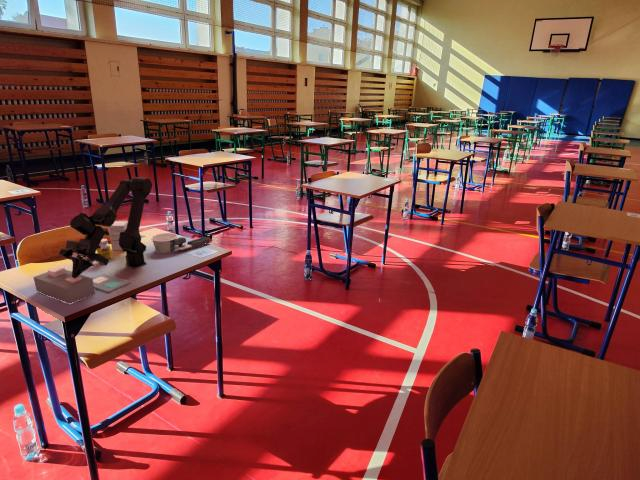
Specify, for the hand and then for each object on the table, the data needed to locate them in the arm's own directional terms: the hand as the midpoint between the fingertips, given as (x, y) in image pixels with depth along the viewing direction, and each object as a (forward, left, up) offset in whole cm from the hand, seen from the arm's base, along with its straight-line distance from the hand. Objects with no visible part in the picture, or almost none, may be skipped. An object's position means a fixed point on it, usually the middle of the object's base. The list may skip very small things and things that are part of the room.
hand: (73, 277), depth 155 cm
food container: (-47, -21, -8) cm, 52 cm away
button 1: (+3, -10, -3) cm, 10 cm away
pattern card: (-12, -2, -7) cm, 14 cm away
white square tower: (-33, -38, -7) cm, 51 cm away
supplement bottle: (-21, -27, -7) cm, 35 cm away
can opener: (-58, -15, -8) cm, 60 cm away
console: (+2, -4, -7) cm, 9 cm away
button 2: (0, 0, -4) cm, 4 cm away
